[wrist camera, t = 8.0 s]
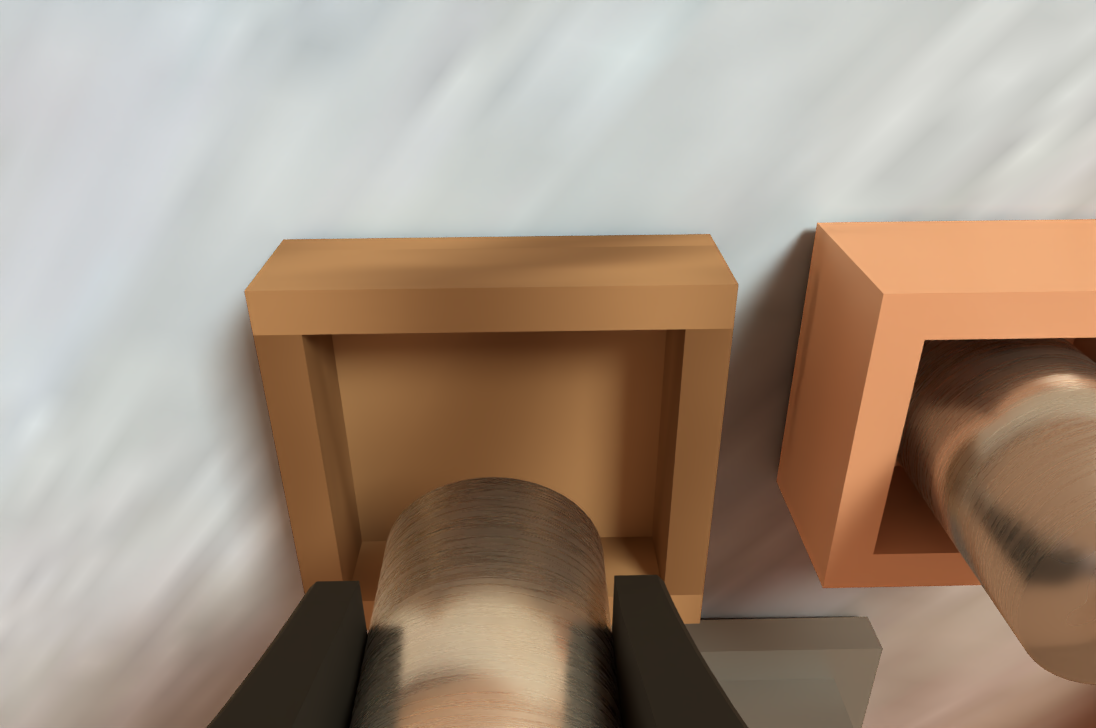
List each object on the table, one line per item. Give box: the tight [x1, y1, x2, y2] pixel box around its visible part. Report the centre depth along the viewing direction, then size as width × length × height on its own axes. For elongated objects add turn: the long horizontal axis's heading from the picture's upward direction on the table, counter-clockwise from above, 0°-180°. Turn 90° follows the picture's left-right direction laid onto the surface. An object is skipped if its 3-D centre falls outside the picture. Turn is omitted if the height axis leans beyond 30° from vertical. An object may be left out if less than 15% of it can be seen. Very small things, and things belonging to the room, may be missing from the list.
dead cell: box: [896, 338, 1096, 685], centre depth 14 cm, size 4×4×6 cm
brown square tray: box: [245, 234, 738, 630], centre depth 16 cm, size 8×8×2 cm
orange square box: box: [776, 219, 1096, 588], centre depth 15 cm, size 6×6×3 cm
